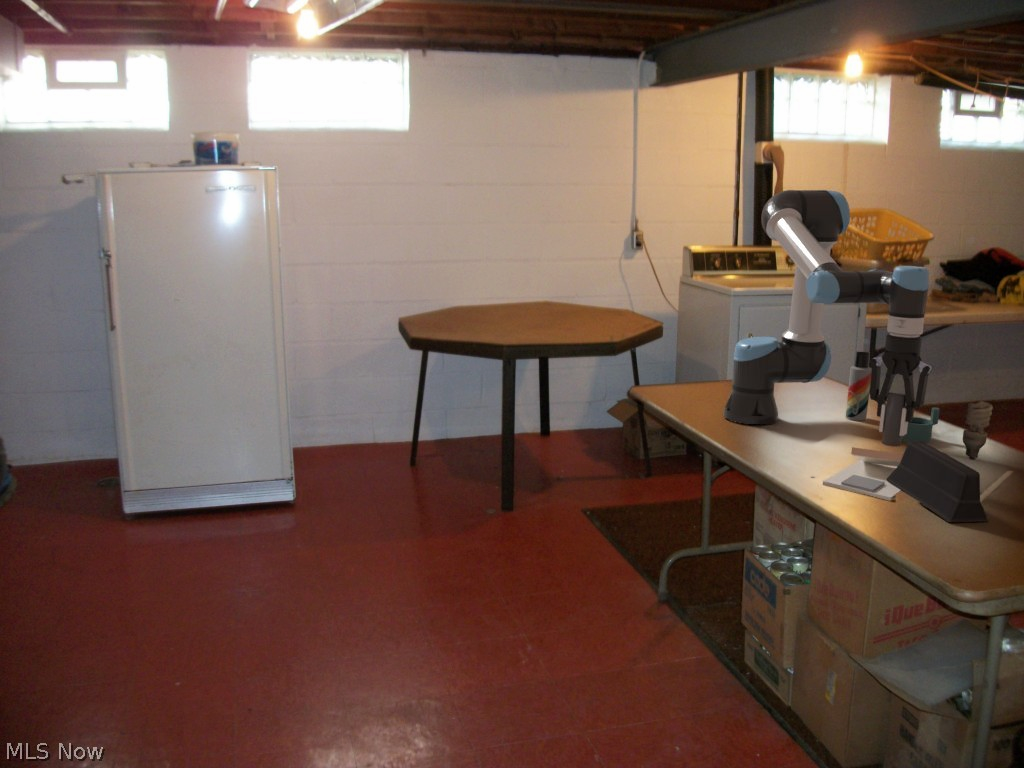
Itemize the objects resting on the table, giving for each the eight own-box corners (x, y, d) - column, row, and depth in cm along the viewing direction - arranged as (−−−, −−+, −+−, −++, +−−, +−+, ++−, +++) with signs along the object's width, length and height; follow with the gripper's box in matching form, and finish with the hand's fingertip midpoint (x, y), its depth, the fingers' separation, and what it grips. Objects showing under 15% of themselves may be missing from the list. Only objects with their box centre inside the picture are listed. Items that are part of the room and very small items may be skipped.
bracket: (938, 440, 231) (942, 408, 229) (916, 445, 226) (920, 412, 224) (908, 432, 238) (912, 401, 236) (886, 436, 234) (890, 404, 232)
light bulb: (988, 460, 215) (996, 401, 211) (980, 464, 211) (989, 405, 208) (964, 454, 219) (972, 397, 215) (956, 459, 215) (964, 401, 211)
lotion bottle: (845, 419, 250) (852, 351, 245) (845, 415, 255) (852, 348, 250) (866, 422, 248) (873, 353, 243) (866, 417, 253) (873, 350, 248)
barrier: (885, 479, 196) (892, 438, 194) (920, 479, 198) (928, 437, 195) (949, 522, 174) (958, 476, 171) (989, 522, 175) (998, 475, 172)
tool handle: (879, 443, 203) (885, 394, 201) (885, 440, 206) (891, 391, 204) (897, 447, 201) (903, 397, 198) (903, 443, 204) (908, 394, 201)
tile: (863, 462, 210) (850, 454, 202) (865, 455, 210) (852, 447, 202) (916, 470, 202) (904, 462, 194) (917, 462, 202) (906, 454, 195)
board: (822, 484, 196) (823, 478, 196) (866, 458, 215) (866, 453, 214) (890, 500, 186) (891, 494, 186) (929, 472, 205) (930, 466, 204)
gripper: (860, 331, 200) (850, 428, 206) (938, 341, 189) (925, 443, 195) (872, 328, 206) (862, 422, 211) (949, 337, 195) (936, 436, 200)
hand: (892, 432), depth 203 cm, fingers closed on tool handle, 4 cm apart
